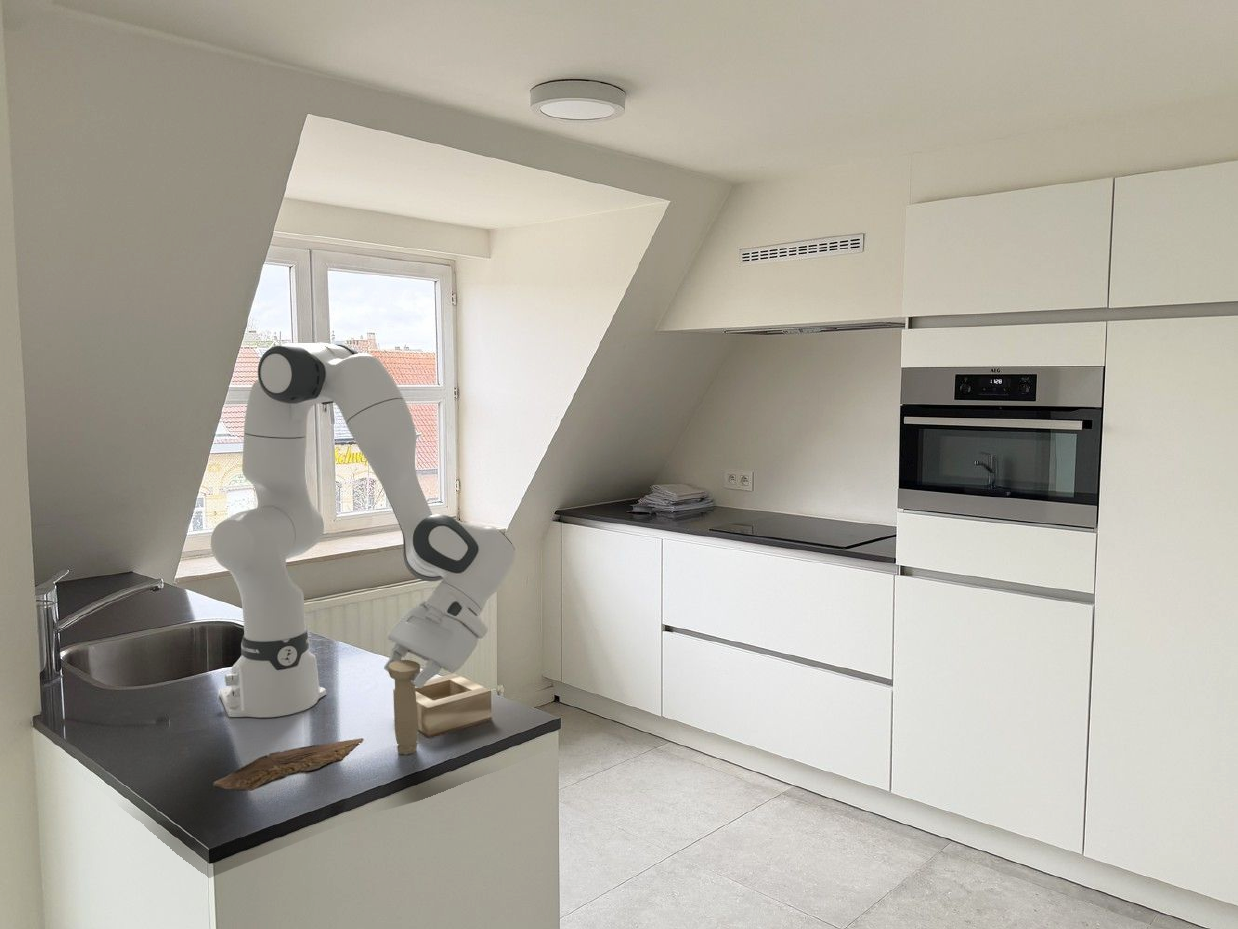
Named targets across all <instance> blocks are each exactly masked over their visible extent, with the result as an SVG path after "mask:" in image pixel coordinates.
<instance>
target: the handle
mask: <svg viewBox="0 0 1238 929" xmlns="http://www.w3.org/2000/svg"><path fill="white" fill-rule="evenodd" d="M420 672H421V664H420V663H419V662H416V661H414V660H411V659H401V660H400V661H395V662H391V663H389V672H388V675H389V677H390V678H391V679H393V680H394V689H395V711H394V710H393V718H394V733H395V740H396V744H397V746H396V749H397V753H398V754H399V755H404V756H407V755H410V754H412V753H413V754H415V752H416V750H417V749H418V736H419V733H418V712H417V702H416V691H415V685H413V684H412V683H411V679H412V678H413V677H414V675H415V673H418V674H419V673H420Z"/></svg>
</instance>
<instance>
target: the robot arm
mask: <svg viewBox="0 0 1238 929" xmlns="http://www.w3.org/2000/svg"><path fill="white" fill-rule="evenodd" d="M257 378H258V379H256V381H254V382H253V384H252V386H251V389H250V392H249V396H248V400H247V405H246V410H245V418H244V426H243V427H244V429H243V446H242V465H241V466H242V467H241V468H242V470H241V471H242V474H243V476H244V478H245V479H246V480H247V481H248V482H249V483H251V484H252V485H253V488H254V490H255V494H256V498H257V507H256V508H253V509H248V510H242V511H239V512H236V513H234V514H232V515H231V516H229V517H227V518H225V519H224V520H222V521H221V522H220V523H218V524H216V526H215V527H214V528H213V531H212V533H211V536H210V547H211V552H212V555H213V557H214V559H215V560H216V562H217V563H218V564H219V565H220V566H222V567H223V568H225V570H227V571H228V572H229V574H231V576H232V577H233V580H234V581H235V583H236V586H237V589H238V592H239V594H240V600H241V606H242V607H241V608H242V618H243V619H242V620H243V631H244V634H243V635H242V637H241V638H242V640H241V644H240V648H241V650H240V654H241V655H240V657H239V658H238V659H237V661H236V662H235V663H234V664H233V666H232V665H231V672H230V673H226V674H225V675H224V680H225V681H224V682H225V688H222V689H221V690H220V693H219V696H220V699H221V701H222V704H223V707H224V709H225V712H226V714H227V717H229V718H242V717H250V718H275V717H277V718H278V717H284V716H288V715H292V714H296V713H300V712H302V711H305V710H307V709H310V708H311V707H313V706H315V704H317V703H318V701H319V699H321V698H323V697H324V696H326V695H327V690H326V688H325V687H323V686H320V682H319V681H320V680H319V673H318V665H317V663H318V662H317V658H316V655H314V653H311V652H310V651H309V643H310V638H309V637H310V636H309V633H308V630H307V628H306V618H305V597H304V596H305V594H304V593H303V590H302V589H301V588H300V586H299V585H297V584H296V583H295V582H293V581H292V579H291V577H290V575H289V572H288V569H287V560H289V559H292V558H295V557H298V556H301V555H303V554H305V553H307V552H308V551H309V550H311V549H312V548H313V547H315V546H316V545H317V544H318V543H319V542H320V541H321V539H322V538H323V535H324V531H325V522H324V518H323V516H322V514H321V513H320V511H319V509H318V508H316V506H314V505H313V503H312V499H311V498H310V494H309V490H308V485H307V481H306V480H307V479H306V449H307V433H308V432H307V431H308V428H307V427H308V415H309V412H310V410H311V409H312V407H314V406H315V405H318V404H321V405H324V406H325V405H329V404H333V403H334V404H335V405H336V406H337V408H338V409H339V411H340V413H341V415H342V418H343V420H344V423H345V425H346V427H347V429H348V431H349V433H350V435H351V437H352V438H353V440H354V442H355V444H356V445H357V447H358V448H359V450H360V453H361V454H362V455H363V457H364V458H365V460H366V462H367V463H368V464H369V467H371V469H372V471H373V473H374V474H375V476H376V478H377V479H378V481H379V482H380V484H381V486H382V488H383V491H384V493H385V495H386V497H387V498H386V499H387V501H388V502H389V504H390V507H391V509H392V512H393V514H394V516H395V518H396V520H397V523H398V525H399V528H400V530H401V534H402V538H403V539H402V541H403V545H402V546H403V547H402V552H403V553H402V555H403V562H404V565H405V567H406V568H407V570H408V571H409V573H410V574H411V575H413V576H414V577H415V578H417V579H419V580H421V581H423V582H424V581H425V582H437V581H440V583H438V585H437V587H436V588H435V590H434V591H433V592H432V593H431V595H430V596H429V598H427V600H426V601H423V602H421V603H420V604H417V605H415V606H412V607H411V608H409V609H408V610H406V611H405V613H404V614H403V615H402V616H401V617H400V618H399V619H398V621H396V623H395V624H394V625H393V626H392V627H391V628H390V630H389V632H388V635H387V640H388V641H390V643H392V644H393V645H394V646H393V648H392V649H391V651H390V656H389V659H388V661H387V662H386V663H385V664H384V667H383V669H384V670H385V671H386V672H388V673H389V663H391V662H395V661H400V660H402V659H403V658H405V657H406V655H407V654H410V655H413V656H415V657H418V658H420V659H422V660H424V661H426V663H425V667H424V668H423V669H422V670H420V673H419V674H418V673H415V675H414V677H413V678H412V679H411V683H412V684H413V685H415V686H416V687H418V688H422V687H423V686H424V684H425V683H426V682H427V680H431V679H433V678H435V676H437V675H438V674H439V672H440V671H441V670H442V669H443V670H444V671H447V672H449V673H451V674H454V673H455V672H457V671H459V670H460V669H461V668H462V667H463V666H464V665H465V663H466V662H467V661H468V659H469V658H470V656H471V655H472V653H473V652H474V651H475V649H476V647H477V646H478V643H479V639H480V640H481V639H483V638H485V636H486V635H487V633H488V632H489V629H488V626H486V624H485V623H484V621H482V619H481V617H479V616H480V615H481V613H482V612H483V610H484V608H485V605H486V603H487V601H488V599H489V598H490V597H491V596H493V595H494V594H495V593H496V592H497V591H498V590H499V588H500V586H501V585H502V583H503V582H504V581H505V579H506V578H507V576H508V574H509V573H510V571H511V569H512V567H513V565H514V563H515V561H516V549H515V547H514V545H513V543H512V541H511V540H510V539H509V537H507V535H505V533H503V532H502V531H501V530H499V529H498V528H497V527H494V526H491V525H487V526H480V525H474V524H469V523H465V522H463V521H460V520H457V519H455V518H453V517H451V516H450V515H446V514H442V513H441V514H440V513H439V514H433V512H432V510H431V508H430V505H429V503H428V500H427V498H426V497H425V494H424V491H423V490H422V487H421V484H420V482H419V479H418V476H417V470H416V448H417V432H416V428H415V424H414V421H413V416H412V413H411V412H410V408H409V407H408V404H407V402H406V400H405V398H404V396H403V394H402V393H401V390H400V389H399V386H398V385H397V383H396V382H395V380H394V378H393V376H392V375H391V374H390V373H389V370H388V369H387V368H386V367H385V365H384V364H383V363H382V362H381V360H380V359H379V358H378V357H376V356H374V355H372V354H370V353H359V352H357V350H355V349H354V348H351V347H349V346H345V345H343V344H331V343H326V342H316V341H315V342H306V343H304V342H303V343H293V342H292V343H291V342H287V343H283V344H277V345H274V346H273V347H270V348H269V349H267V350H266V351H265V352H264V353H263V354H262V356H261V357H260V360H259V362H258V366H257Z"/></svg>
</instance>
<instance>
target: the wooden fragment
mask: <svg viewBox="0 0 1238 929" xmlns="http://www.w3.org/2000/svg"><path fill="white" fill-rule="evenodd" d="M364 740H365V739H363V738H360V737H359V738H355V739H348V740H343V741H342V740H341V741H335V742H330V743H324V744H313V745H307V746H300V747H296V748H292V749H286V750H283V751H277V752H271V753H269V754H268V755H267V754H266V755H263V756H260V757H258V758H257V759H255V760H253V761H251V762H250V763H248V764H246V765H243V766H242V767H240V768H239V769H237V770H235V771H234V772H231V773H230V774H228V775H226V776H224V777H222V778H219V779H217V780H215V781H214V782H213V784H212V786H214V787H219V788H221V789H225V790H238V791H239V790H240V791H244V790H246V791H248V790H249V791H254V790H256V788H259V787H260V786H262V785H264V784H267V783H270V782H272V781H274V780H279V779H283V778H285V777H287V776H289V775H294V774H296V773H306V772H309V771H313V770H317V769H320V768H321V767H324V766H326V765H328V764H330V763H334V762H339V761H340V762H341V761H342V760H344V759H345V758H346V757H347V756H348V755H350V753H351V752H352V751H353V749H355V748H356V747H357V746H358V745H360V744H359V743H361V744H362V743H363V741H364ZM356 745H357V746H356ZM355 746H356V747H355ZM350 751H351V752H350ZM345 756H346V757H345ZM344 757H345V758H344ZM343 758H344V759H343Z"/></svg>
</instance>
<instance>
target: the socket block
mask: <svg viewBox="0 0 1238 929" xmlns="http://www.w3.org/2000/svg"><path fill="white" fill-rule="evenodd" d="M392 691H393V712H394V711H395V688H393V689H392ZM415 691H416V702H417V712H418V732H419V733H418V734H420V735H421V736H423V735H424V736H423V737H426V738H427V739H428V738H429V739H433V738H435V737H436V736H437V737H440V736H444V735H447V734H450V733H453V732H456V730H457V731H459V730H463V729H466V728H470V727H472V726H476V725H480V724H483V723H486V722H489V721H492V719H493V714H492V711H493V710H492V690H491V689H488V688H486V687H484V686H482V685H480V684H478V683H476V682H474V681H472V680H469V679H467V678H465V677H463V676H462V675H461V676H460V675H458V674H456V673H451V674H447V675H444V676H439V677H436V678H435V677H434V678H431V679H429V680H427V682H426V683H425V684H424V686H423V687H422V688H418V687H416V686H415ZM446 733H447V734H446Z"/></svg>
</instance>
